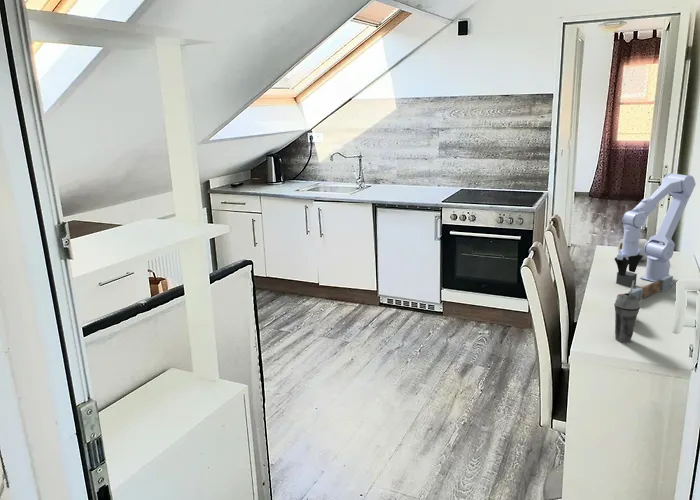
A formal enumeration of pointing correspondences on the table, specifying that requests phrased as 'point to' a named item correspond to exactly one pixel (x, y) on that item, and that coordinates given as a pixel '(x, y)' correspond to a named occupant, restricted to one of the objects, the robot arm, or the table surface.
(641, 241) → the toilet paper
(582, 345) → the table surface
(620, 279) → the grey rectangular prism
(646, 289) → the door
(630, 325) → the beverage cup
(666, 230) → the robot arm
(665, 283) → the wall frame
